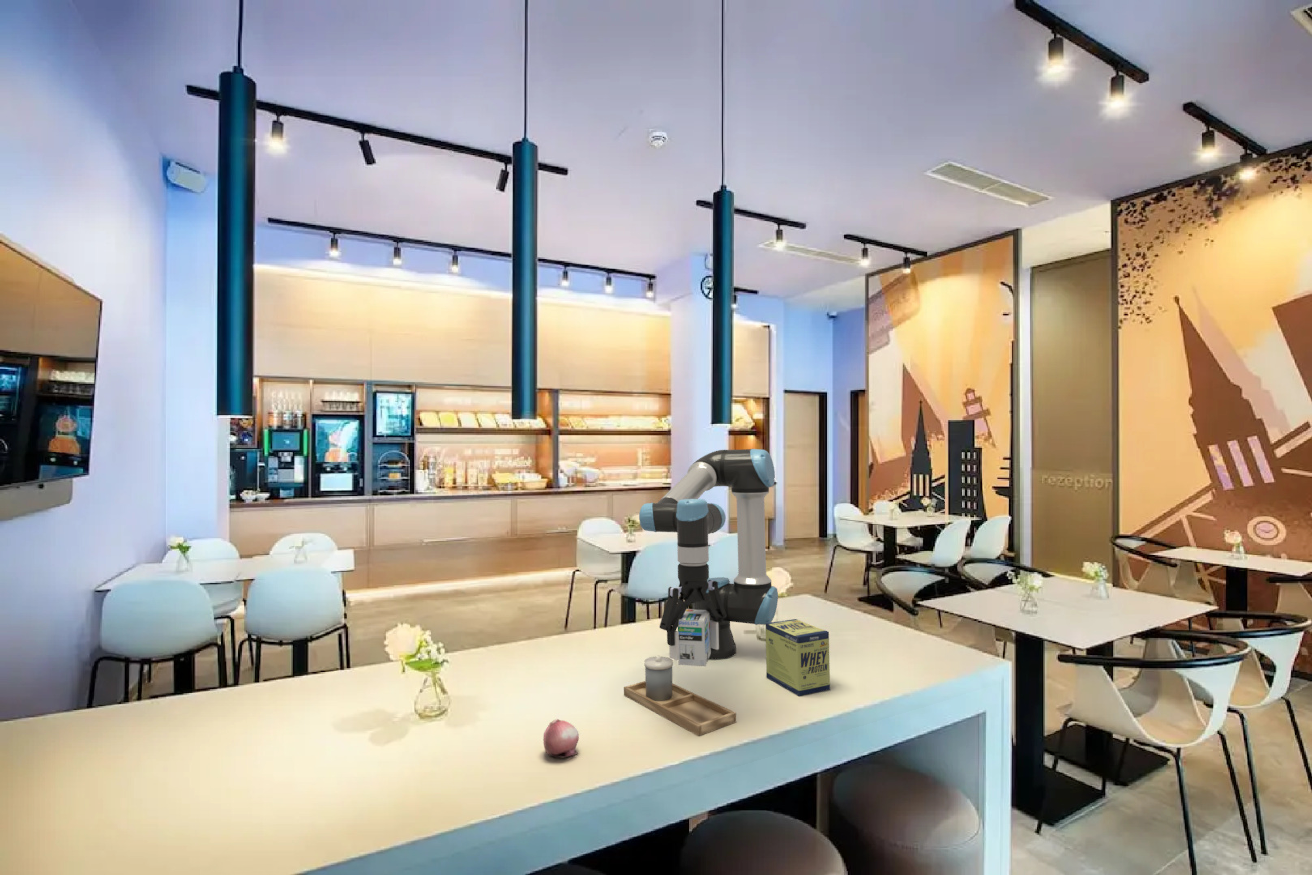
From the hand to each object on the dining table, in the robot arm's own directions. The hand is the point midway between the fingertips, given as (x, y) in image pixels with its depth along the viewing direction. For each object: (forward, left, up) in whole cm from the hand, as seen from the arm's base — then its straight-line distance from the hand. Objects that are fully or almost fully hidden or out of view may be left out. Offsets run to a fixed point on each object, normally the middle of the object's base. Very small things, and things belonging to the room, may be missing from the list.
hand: (694, 653), depth 150 cm
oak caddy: (0, -7, -15) cm, 17 cm away
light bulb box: (0, 0, -2) cm, 2 cm away
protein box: (-36, +1, -16) cm, 39 cm away
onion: (+34, -4, -16) cm, 38 cm away
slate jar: (0, -15, -15) cm, 21 cm away
